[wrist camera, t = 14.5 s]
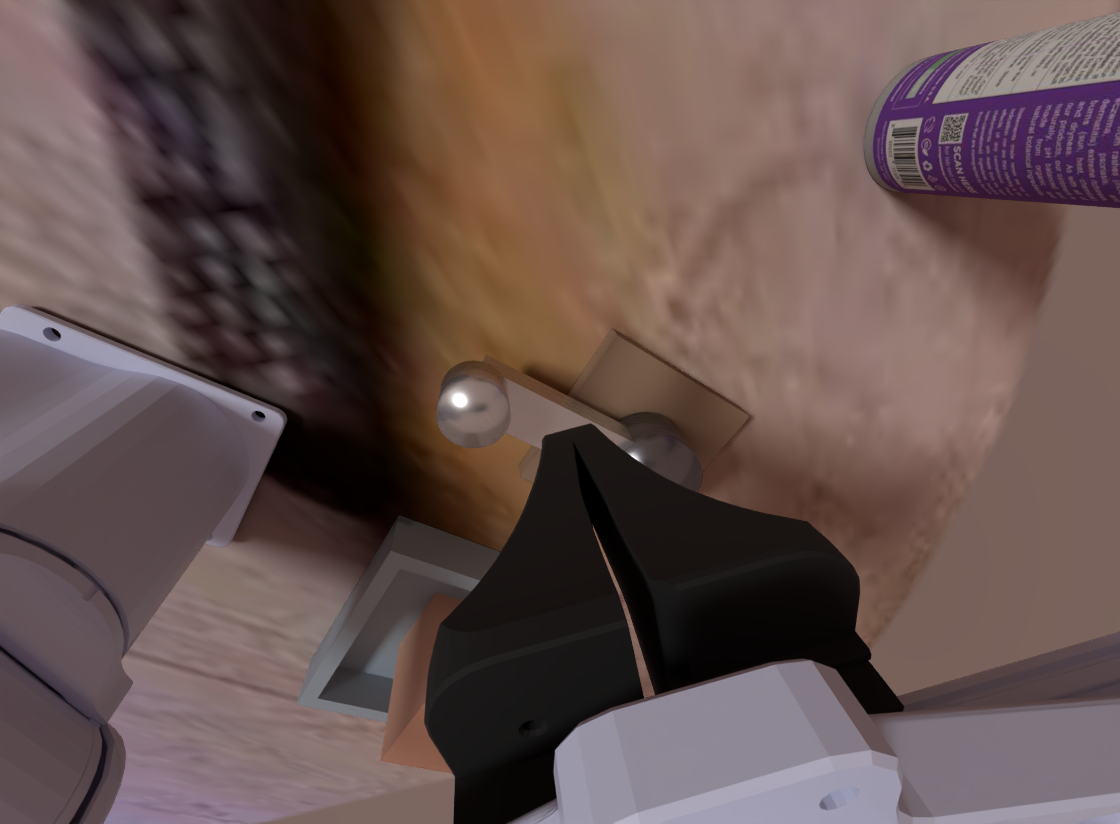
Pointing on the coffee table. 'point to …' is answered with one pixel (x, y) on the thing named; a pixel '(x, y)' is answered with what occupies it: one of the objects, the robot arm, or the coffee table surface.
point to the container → (1007, 119)
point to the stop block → (415, 692)
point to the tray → (388, 616)
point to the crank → (551, 418)
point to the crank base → (651, 398)
